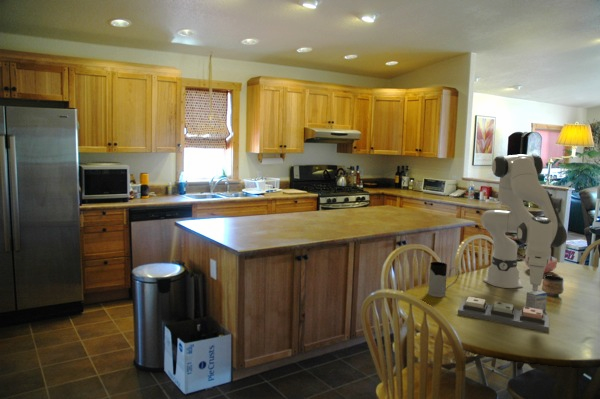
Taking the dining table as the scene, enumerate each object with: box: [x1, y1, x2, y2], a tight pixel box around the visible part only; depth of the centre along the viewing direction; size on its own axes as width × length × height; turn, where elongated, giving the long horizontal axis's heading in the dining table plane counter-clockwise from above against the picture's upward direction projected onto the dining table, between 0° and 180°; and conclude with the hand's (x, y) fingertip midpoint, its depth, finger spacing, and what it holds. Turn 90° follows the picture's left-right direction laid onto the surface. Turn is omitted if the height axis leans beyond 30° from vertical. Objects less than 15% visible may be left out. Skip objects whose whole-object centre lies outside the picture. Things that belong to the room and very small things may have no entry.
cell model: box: [524, 255, 558, 274], centre depth 259 cm, size 17×20×11 cm
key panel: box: [457, 298, 550, 333], centre depth 188 cm, size 14×34×4 cm, turn 61°
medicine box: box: [525, 289, 548, 313], centre depth 196 cm, size 8×4×9 cm, turn 118°
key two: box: [493, 300, 514, 314], centre depth 188 cm, size 7×7×2 cm
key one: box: [466, 296, 486, 308], centre depth 193 cm, size 7×7×2 cm
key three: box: [522, 306, 544, 319], centre depth 182 cm, size 7×7×2 cm
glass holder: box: [427, 261, 460, 298], centre depth 215 cm, size 9×14×15 cm, turn 84°
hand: (534, 290), depth 181 cm, fingers closed
